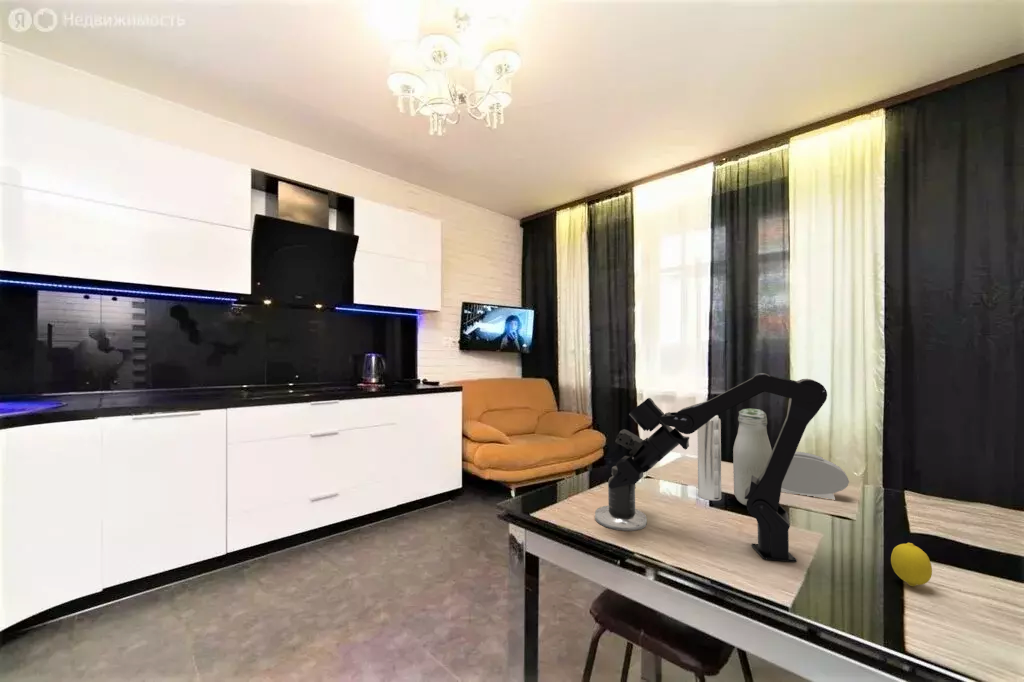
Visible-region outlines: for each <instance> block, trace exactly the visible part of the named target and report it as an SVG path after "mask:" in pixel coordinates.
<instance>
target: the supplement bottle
mask: <svg viewBox="0 0 1024 682" xmlns="http://www.w3.org/2000/svg"><path fill="white" fill-rule="evenodd" d="M616 473H617V467H616V465H614V466H612V467H611V475H612V476H610V477H609V479H608V482H607V485H609V483H610V482H611V480H612V479H613V477H614V476H615V475H616ZM607 492H608V506H609V513H610V514H611V515H612V516H614V517H617V518H623V519H627V518H632V517H634V515H635V509H636V483H635V484H633V485H632V484H631V485H626V486H621V487H617V488H613V489H610V488H609V486H608V487H607Z"/></svg>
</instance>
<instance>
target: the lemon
mask: <svg viewBox="0 0 1024 682" xmlns="http://www.w3.org/2000/svg"><path fill="white" fill-rule="evenodd" d="M890 564H891V567H892V570H893V572H894V573H895V574H896V575H897V576H898V577H899V579H901V580H902V581H904V582H905V583H907V585H909V587H916V586H922V585H926V584H927V583H928V582H929V581H930V580H931V578H932V576H933V575H932V574H933V568H932V567H933V566H932V563H931V561H930V557H929V556H928V554H927V553H926V552H925V551H923V549H921V548H920V547H919V546H916V545H915V544H914V543H912V542H907V543H900V544H898V545H895V546H894V548H893V549H892V551H891V556H890Z"/></svg>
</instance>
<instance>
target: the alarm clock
mask: <svg viewBox="0 0 1024 682" xmlns="http://www.w3.org/2000/svg"><path fill="white" fill-rule="evenodd" d="M849 483H850V481H849V477H848V475H847V474H846V472H845V471H844V470H843V469H842V467H841V466H840V465H836V463H833V462H832V461H830V460H827V459H825V458H823V457H822V456H820V455H816V454H812V453H809V452H804V451H803V452H802V451H796V452H795V454H794V457H793V459H792V461H791V464H790V466H789V468H788V471H787V473H786V475H785V478H784V480H783V482H782V487H781V493H784V492H786V493H785V494H790V493H792V494H791V495H796V494H800V495H799V496H802V495H807V496H806V497H808V496H815V497H821V498H828V499H834V500H835V501H836V497H835V493H838V492H841V491H844V490H845V489H846V488H847V487H848V486H849ZM815 497H814V498H815ZM821 498H820V499H821Z"/></svg>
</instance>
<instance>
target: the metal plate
mask: <svg viewBox="0 0 1024 682" xmlns="http://www.w3.org/2000/svg"><path fill="white" fill-rule="evenodd" d="M647 518H648V517H647V515H646V514H645V513H644V512H643V511H641V510H639V509H638V508H637V509H636V508H635V515H634V517H632V518H627V519H623V518H617V517H614V516H612V515H611V514H610V513H609V505H604V506H600V507H598V508H597V509H595V511H594V520H595V522H596V523H598V524H599V525H601V526H602V527H605V528H607V529H610V530H615V531H620V530H622V531H623V532H634V531H635V532H636V531H640V530H642V529H644V528H646V526H647V523H648V522H647V521H648V520H647ZM622 531H621V532H622Z"/></svg>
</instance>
